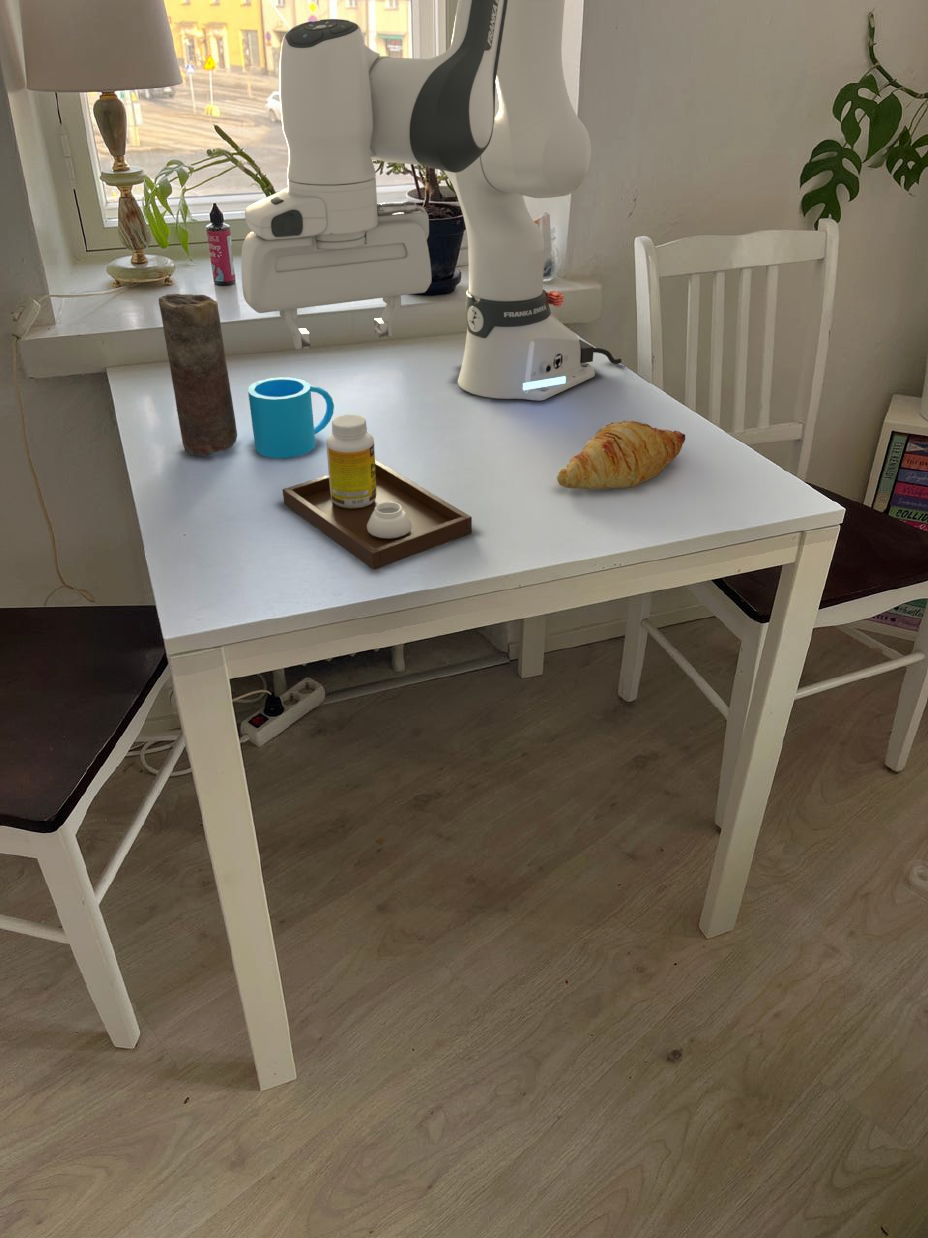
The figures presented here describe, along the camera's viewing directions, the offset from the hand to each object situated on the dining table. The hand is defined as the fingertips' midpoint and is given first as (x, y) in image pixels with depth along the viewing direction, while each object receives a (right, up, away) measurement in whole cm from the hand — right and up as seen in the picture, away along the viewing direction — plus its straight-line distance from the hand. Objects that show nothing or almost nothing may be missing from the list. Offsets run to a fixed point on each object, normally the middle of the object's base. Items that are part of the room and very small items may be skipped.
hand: (343, 341), depth 106 cm
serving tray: (+3, -19, +8) cm, 20 cm away
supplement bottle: (0, -16, +11) cm, 20 cm away
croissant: (+33, -12, +19) cm, 40 cm away
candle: (-21, -7, +25) cm, 34 cm away
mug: (-10, -6, +26) cm, 29 cm away
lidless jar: (+5, -21, +4) cm, 22 cm away
